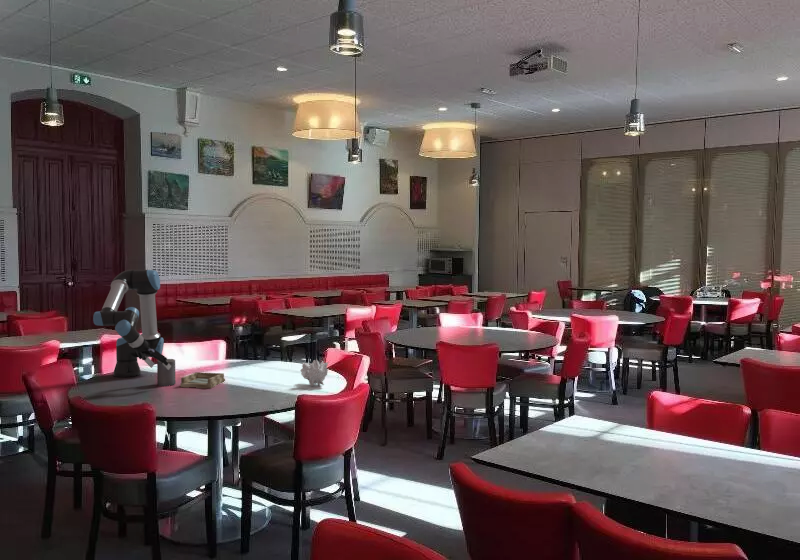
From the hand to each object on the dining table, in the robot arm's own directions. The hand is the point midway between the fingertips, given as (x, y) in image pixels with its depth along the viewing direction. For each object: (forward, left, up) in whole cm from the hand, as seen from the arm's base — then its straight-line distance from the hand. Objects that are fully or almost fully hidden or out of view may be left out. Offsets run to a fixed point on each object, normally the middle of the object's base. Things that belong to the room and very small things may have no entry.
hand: (161, 366), depth 367 cm
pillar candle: (-4, +1, -11) cm, 12 cm away
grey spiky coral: (-17, +82, -11) cm, 84 cm away
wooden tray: (-8, +21, -11) cm, 25 cm away
